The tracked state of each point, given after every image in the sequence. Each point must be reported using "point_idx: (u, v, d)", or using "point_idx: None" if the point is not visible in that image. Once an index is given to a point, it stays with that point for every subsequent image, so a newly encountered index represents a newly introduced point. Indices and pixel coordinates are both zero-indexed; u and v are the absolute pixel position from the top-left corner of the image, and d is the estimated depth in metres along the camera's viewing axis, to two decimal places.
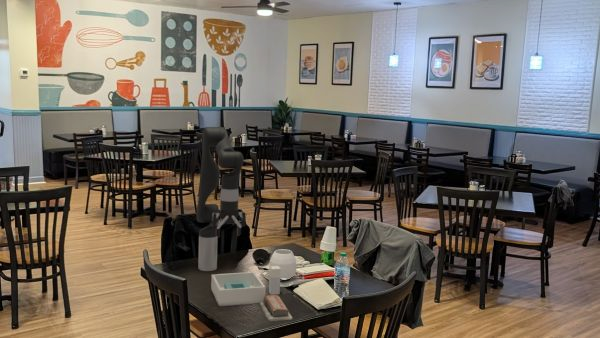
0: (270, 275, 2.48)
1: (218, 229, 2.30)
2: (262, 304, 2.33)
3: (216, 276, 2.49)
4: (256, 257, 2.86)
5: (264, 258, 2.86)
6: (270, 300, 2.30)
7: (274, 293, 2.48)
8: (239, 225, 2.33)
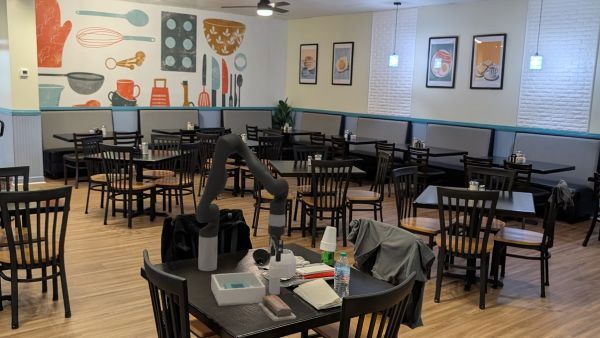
0: (270, 275, 2.48)
1: None
2: (261, 305, 2.33)
3: (216, 276, 2.49)
4: (256, 257, 2.86)
5: (264, 258, 2.86)
6: (271, 300, 2.30)
7: (274, 293, 2.48)
8: None
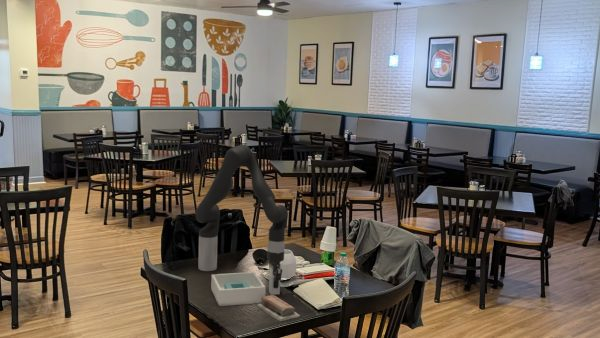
0: (270, 275, 2.48)
1: (278, 280, 2.47)
2: (261, 305, 2.32)
3: (216, 276, 2.49)
4: (256, 257, 2.86)
5: (264, 258, 2.86)
6: (271, 300, 2.30)
7: (274, 293, 2.48)
8: None
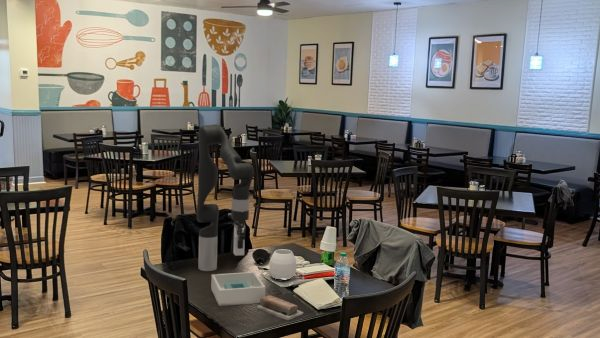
0: (234, 235, 2.40)
1: None
2: (262, 307, 2.30)
3: (216, 276, 2.49)
4: (256, 257, 2.86)
5: (264, 258, 2.86)
6: (273, 301, 2.29)
7: (238, 254, 2.40)
8: None
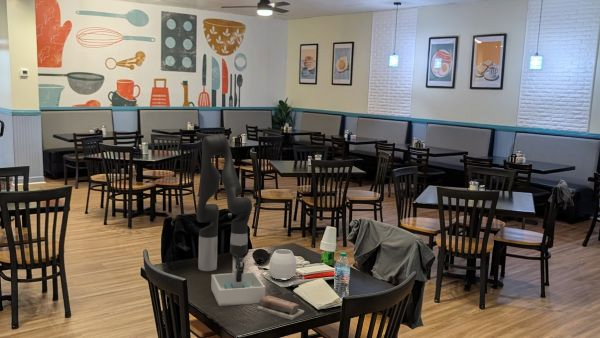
0: (233, 268, 2.42)
1: (241, 274, 2.41)
2: (262, 307, 2.30)
3: (216, 276, 2.49)
4: (256, 257, 2.86)
5: (264, 258, 2.86)
6: (273, 301, 2.29)
7: (237, 287, 2.41)
8: None
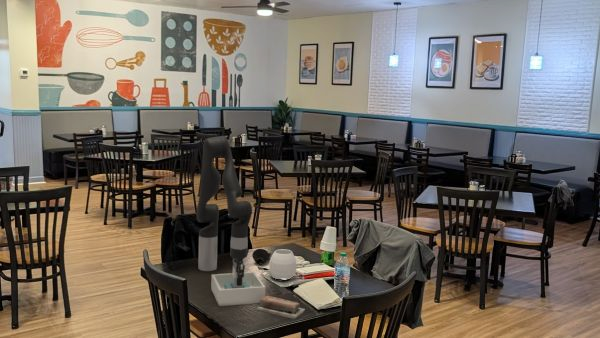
0: (233, 275, 2.43)
1: None
2: (263, 308, 2.29)
3: (216, 276, 2.49)
4: (256, 257, 2.86)
5: (264, 258, 2.86)
6: (274, 301, 2.29)
7: None
8: None
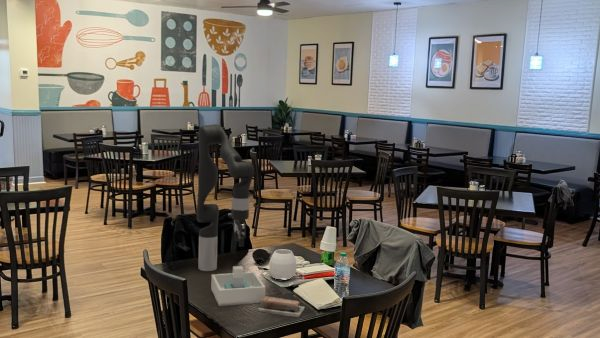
0: (233, 275, 2.42)
1: None
2: (264, 309, 2.28)
3: (216, 276, 2.49)
4: (256, 257, 2.86)
5: (264, 258, 2.86)
6: (275, 301, 2.29)
7: None
8: None
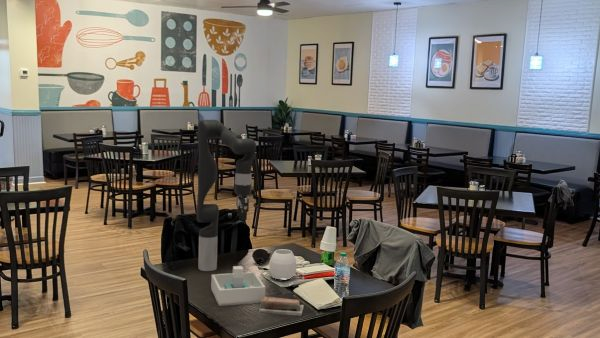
0: (233, 275, 2.42)
1: (246, 212, 2.44)
2: (265, 309, 2.28)
3: (216, 276, 2.49)
4: (256, 257, 2.86)
5: (264, 258, 2.86)
6: (276, 301, 2.29)
7: None
8: None
